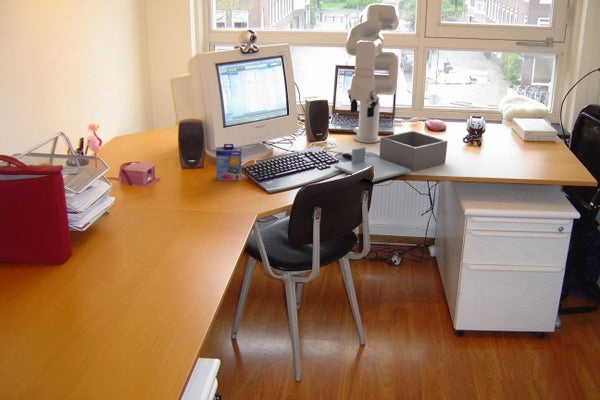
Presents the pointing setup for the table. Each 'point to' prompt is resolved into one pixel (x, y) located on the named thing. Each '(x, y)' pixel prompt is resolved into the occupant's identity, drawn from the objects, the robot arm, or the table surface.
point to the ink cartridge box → (228, 163)
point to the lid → (381, 166)
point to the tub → (413, 150)
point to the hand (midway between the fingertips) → (361, 114)
